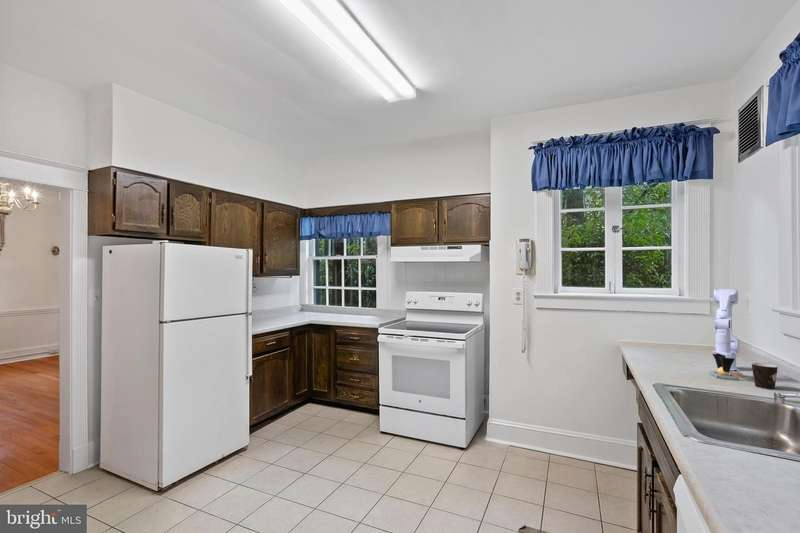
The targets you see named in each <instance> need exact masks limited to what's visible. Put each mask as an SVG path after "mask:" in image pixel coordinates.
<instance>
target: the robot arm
mask: <svg viewBox="0 0 800 533" xmlns="http://www.w3.org/2000/svg"><path fill="white" fill-rule="evenodd" d="M713 299H714V301H715V303H716V304H718V305H719V308H717V309H716V312H715V313H716V315H715V319H713V327H714V328H713V329H714V334H715V341H714V342H715V343H714V347H715V350H712V352H713V353H712V356H713V357H714V360H715V363H716V365H717V367H716V368H717V370H718V369H719V368H720V367H722V368H723V371H724V372H729V371H734V370H737V371H736V372H741V371H740V369H738V368H737V354H738V353H740V339H739V338H738V337H737V336H736V335H734V334H733V306H734V305H737V304H738V303H739V290H738V289H737V288H735V289H734V288H733V289H731V288H730V289H729V288H726V289H725V288H721V289H720V288H714V289H713Z"/></svg>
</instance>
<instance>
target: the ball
mask: <svg viewBox="0 0 800 533" xmlns="http://www.w3.org/2000/svg"><path fill="white" fill-rule="evenodd" d="M717 372H718V373H719V374H720V375H722V376H727V375H729V372H724V371H723V368H722V367H720V368H719V369H718V368H717Z"/></svg>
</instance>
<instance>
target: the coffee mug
mask: <svg viewBox="0 0 800 533" xmlns="http://www.w3.org/2000/svg"><path fill="white" fill-rule="evenodd" d="M778 368H779V367H778V365H775V364H770V363H761V362H751V369H752V375H753V382H754V386H755V387H756V388H759V389H765V390H775V389H776V382H777V375H778Z"/></svg>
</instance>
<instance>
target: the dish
mask: <svg viewBox="0 0 800 533" xmlns="http://www.w3.org/2000/svg"><path fill="white" fill-rule="evenodd" d="M729 373H731V374H733V375H734V376H736V377H738V378H744V373H742V372H741V371H734V370H730V371H729Z"/></svg>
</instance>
